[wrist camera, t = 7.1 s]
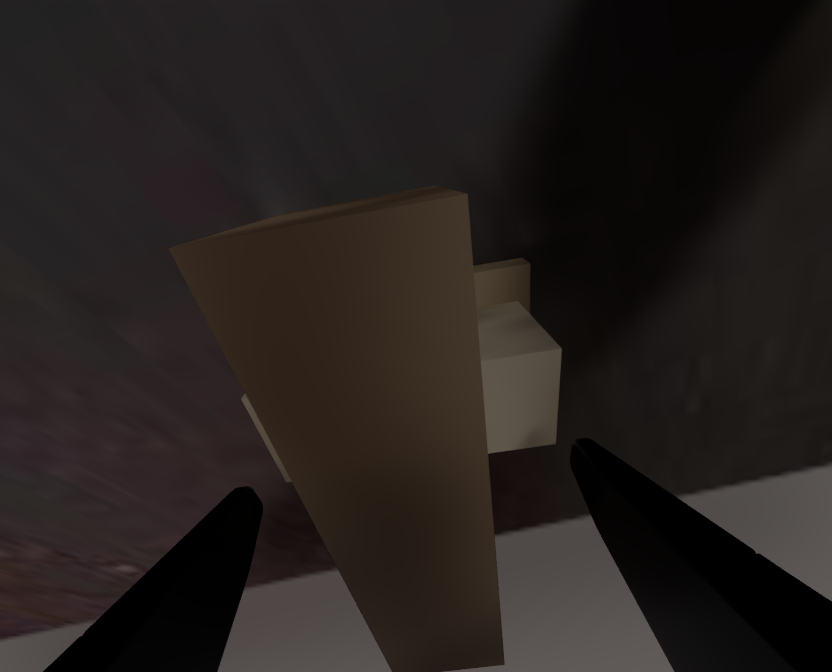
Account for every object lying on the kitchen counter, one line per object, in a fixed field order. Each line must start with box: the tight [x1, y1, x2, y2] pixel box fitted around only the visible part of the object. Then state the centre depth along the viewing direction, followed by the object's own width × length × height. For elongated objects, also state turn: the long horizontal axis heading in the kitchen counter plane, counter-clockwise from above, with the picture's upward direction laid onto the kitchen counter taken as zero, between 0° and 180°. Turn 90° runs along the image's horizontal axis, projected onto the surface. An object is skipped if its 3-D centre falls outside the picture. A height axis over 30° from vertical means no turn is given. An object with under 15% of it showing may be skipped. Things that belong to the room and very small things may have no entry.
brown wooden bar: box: [168, 186, 504, 672], centre depth 9 cm, size 4×14×4 cm, turn 9°
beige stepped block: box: [241, 258, 562, 482], centre depth 13 cm, size 11×7×5 cm, turn 99°
